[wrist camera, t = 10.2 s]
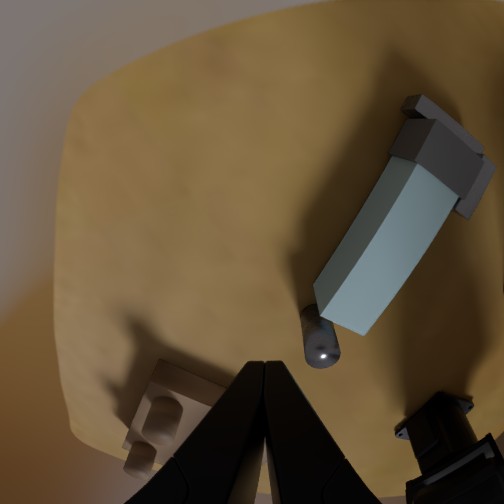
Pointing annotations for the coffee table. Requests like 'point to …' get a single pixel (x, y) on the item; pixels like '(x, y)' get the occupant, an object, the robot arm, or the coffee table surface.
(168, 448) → the stool seat
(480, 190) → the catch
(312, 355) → the pivot pin
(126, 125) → the coffee table surface
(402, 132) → the hinged leg
